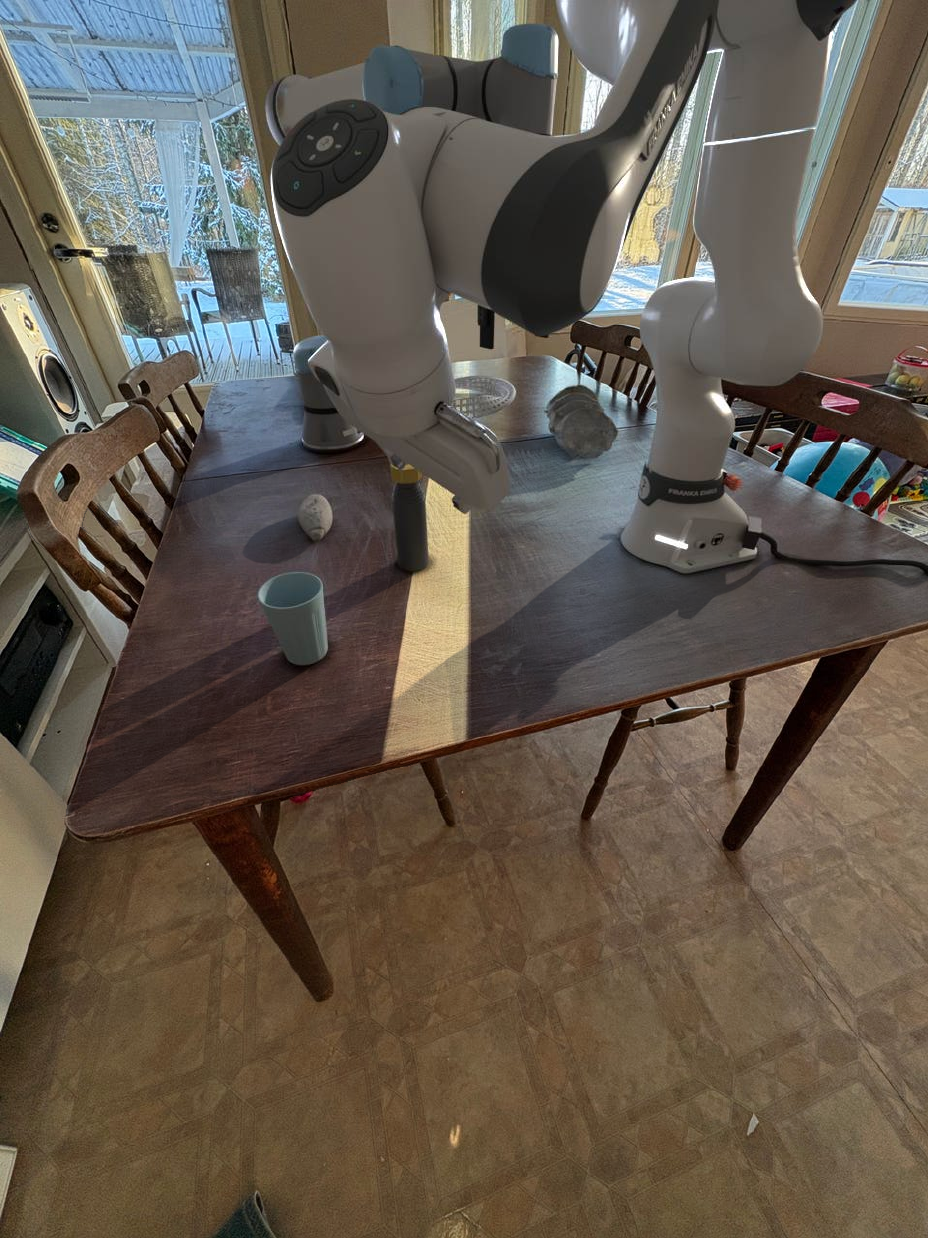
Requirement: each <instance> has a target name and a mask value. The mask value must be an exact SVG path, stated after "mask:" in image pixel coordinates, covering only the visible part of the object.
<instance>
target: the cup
mask: <svg viewBox="0 0 928 1238" xmlns="http://www.w3.org/2000/svg"><path fill="white" fill-rule="evenodd" d="M257 600H258V602H259V604H260V606H261V608H262V610H263V613H264V615H265V616H266V619H267V621H268V622H269V624H270V626H271V629H272V631H273V633H274V635H275V636H276V640H277V641H278V643H279V645H280V648H281V649H282V651H283V653H284V655H285V658H286V659H287V661H288V662H289V663H292V664H294V665H297V666H309V665H312V664H316V663H318V662H320V661H321V660H322V659H323V658H324V657H325V656H326V655H327V652H328V649H329V645H328V644H329V643H328V635H327V634H328V631H327V622H326V620H327V619H326V610H325V599H324V585H323V582H322V580H321V579H320V578H319V577H318V576H316V575H315V574H312V573H309V572H305V571H304V572H303V571H293V572H291V571H290V572H286V573H282V574H279V575H276V576H274V577H271V578H270V579H268V580H266V582H264V583H263V584H262V585H261V586H260V588H259V590H258V591H257Z"/></svg>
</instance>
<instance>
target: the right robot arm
mask: <svg viewBox="0 0 928 1238" xmlns="http://www.w3.org/2000/svg"><path fill="white" fill-rule="evenodd" d="M857 1H858V0H555V4H556V9H557V15H558V19H559V21H560V26H561V29H562V31H563V34H564V37H565V39H566V41H567V44H568V46H569V47H570V50H571V51H572V54H573V55H574V56H575V58H576V60H577V61H578V62H579V63H580V65H581V66H582V67H583V68H584V69H585V70H586V71H587V72H588V73H589V74H591V76H593V77H595V78H597V79H599V80H600V81H602V82H604V83H605V84H608V85H609V86H611V88H610V90H609V93H608V95H607V96H606V99H605V100H604V102H603V104H602V106H601V108H600V110H599V113H598V114H597V117H596V118H595V120H594V123H593V125H592V127H591V128H589V129H587V130H585V131H582V132H579V133H575V134H568V135H552V136H544V135H539V134H535V133H531V132H527V131H523V130H519V129H515V128H512V127H508V126H504V125H500V124H496V123H492V122H489V121H485V120H484V119H481V118H477V117H474V116H470V115H466V114H463V113H459V112H455V111H451V110H446V109H442V108H436V107H414V108H410V109H408V110H406V111H404V112H403V113H401V114H400V115H396V114H391V113H388V112H385V111H382V110H381V109H380V108H379V107H377V106H376V105H374V104H372V103H370V102H367V101H364V100H358V99H346V100H340V101H335V102H332V103H329V104H327V105H324V106H322V107H320V108H318V109H316V110H315V111H313V112H311V113H309V114H308V115H306V116H305V117H303V118H302V119H301V120H300V121H299V122H298V123H297V124H296V125H295V126H294V127H293V128H292V129H291V130H290V131H289V133H288V134H287V136H286V137H285V138H284V140H283V141H282V143H281V144H280V146H279V145H278V148H277V150H276V152H275V155H274V157H273V161H272V164H271V173H270V187H271V188H270V189H271V198H272V204H273V210H274V211H273V212H274V215H275V220H276V224H277V225H276V226H277V228H278V232H279V236H280V238H281V241H282V245H283V248H284V251H285V254H286V257H287V259H288V262H289V264H290V267H291V270H292V273H293V275H294V278H295V280H296V284H297V285H298V287H299V290H300V293H301V294H302V297H303V300H304V302H305V304H306V306H307V309H308V311H309V313H310V316H311V317H312V320H313V322H314V323H315V325H316V327H317V329H319V330H320V333H322V335H325V337H326V338H327V339H328V341H327V342H326V343H325V344H323V345H322V346H321V347H320V348H319V349H318V350H317V351H316V352H315V353H314V354H313V356H312V357H311V358H310V359H309V360H308V364H309V367H310V369H311V371H312V373H313V374H314V376H315V378H316V379H317V380H318V381H320V382H321V383H322V384H323V386H324V388H325V390H326V392H327V394H328V396H329V397H330V399H331V401H332V403H333V404H334V406H335V408H336V409H337V411H338V412H339V414H340V415H341V416H342V417H343V418H344V419H345V420H346V421H347V422H348V423H349V424H350V425H352V426H353V427H355V428H356V429H358V430H359V431H361V432H362V433H364V436H366V437H367V438H369V439H371V440H372V441H374V442H375V443H376V445H378V447H379V448H380V449H381V450H382V451H383V453H384V454H385V455H386V457H387V459H388V461H389V464H392V465H393V466H395V467H396V468H398V469H399V470H402V469H403V468H404V467H405V465H407V464H409V465H411V466H412V467H414V468H415V469H417V470H418V471H420V472H421V473H422V475H424V476H426V477H427V478H429V479H430V480H432V481H433V482H435V483H436V484H438V485H439V486H440V487H442V488H443V489H445V490H446V491H448V492H449V493H451V494H452V495H454V496H452V498H451V502H452V506H453V508H455V509H456V510H458V511H459V512H461V513H462V514H463V515H467V514H468V513H469V512H470V511H471V510H472V509H474V510H475V511H477V512H479V513H481V514H486V513H489V512H491V511H492V510H494V509H495V508H496V507H498V505H500V503H502V501H503V500H504V499H505V498H506V496H507V495H508V494H509V492H510V491H511V488H512V482H511V476H510V472H509V466H508V463H507V459H506V456H505V452H504V449H503V446H502V444H501V442H500V440H499V438H498V437H497V436H496V434H495V433H494V432H493V431H492V430H491V429H489V427H487V426H485V425H484V424H482V423H481V422H479V421H478V420H476V419H475V418H474V419H472V418H471V417H472V416H470V415H469V416H467V415H466V414H464V413H462V412H461V411H460V409H457V408H454V407H452V406H451V405H452V404H453V401H454V398H456V390H457V388H455V381H454V379H455V376H454V371H453V366H452V360H451V354H450V349H449V344H448V339H447V335H446V330H445V327H444V324H443V322H442V320H441V316H440V311H441V306H442V305H443V303H444V302H445V301H446V300H447V299H448V298H449V297H450V296H451V295H453V296H457V297H459V298H461V299H464V300H466V301H469V302H471V303H474V304H475V305H477V306H478V305H481V306H483V307H486V308H488V309H491V310H493V311H494V312H495V314H496V315H498V316H500V317H501V318H503V319H505V320H507V321H509V322H510V323H512V324H514V325H516V326H518V327H520V328H521V329H523V330H525V331H527V332H528V333H530V334H532V335H534V336H535V335H537V336H545V335H549V336H550V334H551V335H552V334H553V333H554V334H555V333H556V332H559V331H561V330H564V329H565V328H567V327H570V326H571V325H573V324H575V323H577V322H578V321H580V320H581V319H584V317H586V316H587V315H589V314H591V312H593V311H594V310H595V308H596V307H597V306H598V305H599V303H600V301H601V300H602V298H603V297H604V295H605V293H606V291H607V289H608V286H609V284H610V282H611V280H612V277H613V275H614V272H615V271H616V270H615V269H616V268H617V265H618V262H619V259H620V257H621V255H622V251H623V250H624V249H623V248H624V245H625V243H626V240H627V237H628V235H629V231H630V229H631V226H632V224H633V220H634V218H635V216H636V213H637V211H638V209H639V207H640V205H641V203H642V200H643V198H644V197H645V194H646V192H647V189H648V188H649V185H650V183H651V181H652V180H653V177H654V175H655V173H656V171H657V169H658V167H659V165H660V162H661V160H662V158H663V156H664V154H665V151H666V150H667V147H668V146H669V143H670V141H671V139H672V137H673V135H674V133H675V131H676V128H677V126H678V124H679V122H680V120H681V118H682V116H683V113H684V111H685V108H686V107H687V104H688V102H689V100H690V98H691V95H692V93H693V91H694V88H695V86H696V83H697V82H698V79H699V76H700V74H701V71H702V70H703V66H704V64H705V60H706V58H707V54H710V53H716V52H722V53H721V56H720V61H719V63H718V68H717V72H716V76H715V80H714V83H713V84H714V85H713V88H712V94H711V99H710V103H709V109H708V113H707V120H706V125H705V132H704V136H703V137H704V138H703V144H702V152H701V160H700V167H699V174H698V179H697V180H698V181H697V189H696V194H695V203H694V210H693V218H692V223H693V224H692V225H693V231H694V234H695V236H696V238H697V240H698V241H699V243H700V244H701V245H702V246H703V247H704V249H705V250H706V252H707V254H708V256H709V259H710V263H711V266H712V271H713V278H711V277H703V276H694V277H693V276H692V277H688V278H681V279H675V280H671V281H668V282H665V283H663V284H661V285H660V286H659V287H658V288H656V289H655V291H654V292H653V293H652V294H651V295H650V297H649V298H648V300H647V302H646V304H645V306H644V308H643V310H642V314H641V317H640V323H639V336H640V341H641V343H642V345H643V347H644V349H645V350H646V352H647V354H648V356H649V360H650V362H651V365H652V368H653V369H652V370H653V375H654V381H655V389H656V406H657V407H656V419H655V425H654V430H653V436H652V441H651V445H650V452H649V455H648V458H647V460H646V461H645V462H644V465H643V468H642V472H641V476H640V481H639V485H638V491H637V500H636V502H635V505H634V508H633V511H632V513H631V515H630V517H629V520H628V522H627V523H626V526H625V528H624V530H623V531H622V533H621V535H620V542H621V544H622V546H623V547H624V548H625V550H626V551H628V552H629V553H630V554H632V555H633V556H635V557H636V558H638V559H641V560H644V561H646V562H649V563H653V564H656V565H661V566H664V567H667V568H669V569H671V570H672V571H673V570H674V571H676V572H679V573H681V574H691V573H692V574H693V573H696V572H700V571H706V570H710V569H715V568H719V567H723V566H727V565H732V564H737V563H742V562H745V561H751V560H754V559H755V558H756V557H757V552H758V550H757V545H758V542H759V539H760V540H763V541H765V542H767V543H768V544H769V545H770V547H769V548H770V553H771V555H772V556H774V557H776V558H777V559H780V560H783V561H790V562H794V563H799V564H803V565H810V566H825V567H826V566H828V567H829V566H830V567H860V566H870V565H871V566H872V565H873V566H874V565H884V566H902V567H903V566H904V567H905V566H906V567H914V568H917V569H920V570H922V571H923V573H924V574H925V575H928V564H926V563H925V562H922V561H919V560H914V559H912V560H911V559H895V558H893V559H890V558H864V559H863V558H861V559H851V560H840V559H839V560H834V559H819V558H818V559H817V558H801V557H795V556H790V555H787V554H784V553H782V552H780V550H778V542H777V540H776V539H775V538H774V537H772V536H771V535H770V534H767V533H765V532H763V531H762V517H756V516H750V515H749V516H747V514H746V513H745V511H744V510H743V509H742V508H741V507H740V506H739V505H738V503H736V501H734V500H733V498H732V497H731V496H729V494H727V493H726V491H725V487H726V488H728V489H729V491H731V492H735V491H738V490H739V489H740V488H741V486H742V485H743V484H742V483H743V481H742V479H741V478H739V477H737V475H735V474H728V472H727V471H726V470H725V469H724V468H723V466H724V463H725V460H726V458H727V455H728V451H729V448H730V445H731V442H732V439H733V435H734V432H735V430H736V419H735V415H734V412H733V411H732V409H731V407H730V406H729V404H728V403H727V401H726V399H725V395H724V393H723V387H722V380H724V381H726V382H730V383H733V384H736V385H741V386H755V387H777V386H780V385H783V384H785V383H787V382H788V381H790V380H791V379H793V378H794V377H796V376H797V375H798V374H799V373H800V372H801V371H803V369H805V367H806V366H807V365H808V363H809V362H810V361H811V360H812V358H813V357H814V355H815V353H816V352H817V350H818V347H819V345H820V342H821V339H822V335H823V329H824V316H823V312H822V308H821V305H820V304H819V303H818V301H816V299H815V298H814V297H813V295H812V294H811V292H810V290H809V288H808V286H807V285H806V284H807V283H806V281H805V279H804V276H803V273H802V269H801V264H800V259H799V252H798V237H797V232H798V229H797V228H798V215H799V208H800V202H801V197H802V192H803V188H804V182H805V178H806V173H807V168H808V167H807V166H808V163H809V159H810V155H811V151H812V145H813V141H814V137H815V133H816V129H817V125H818V121H819V116H820V112H821V108H822V103H823V99H824V94H825V88H826V82H827V77H828V70H829V64H830V56H831V47H832V38H833V31H834V29H835V28H836V27H837V25H838V23H839V22H840V20H841V18H842V16H843V14H844V13H846V12H847V11H848V10H849V9H851V8H852V7H853V6H854V5H855V4H856V2H857ZM537 336H536V337H537Z"/></svg>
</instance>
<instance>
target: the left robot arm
mask: <svg viewBox="0 0 928 1238" xmlns="http://www.w3.org/2000/svg"><path fill="white" fill-rule="evenodd" d="M501 40H502V41H501V49H500V56H498V57H494V58H490V59H485V60H472V59H471V60H470V59H465V58H459V57H453V56H447V55H440V54H434V53H428V52H424V51H418V50H414V49H409V48H405V47H403V46H402V45H387V46H386V45H377V46H375V47H373V48H372V49H371V50H370V51H369V54H368V57H367V58H366V59H365V61H364V62H361V63H357V64H355V65H352V66H348V67H344V68H341V69H339V70H335V71H332V72H328V73H325V74H322V75H318V76H315V77H309V76H304V75H301V74H290V75H287V76H282V77H281V78H278V79H277V80H275V82H273V83H272V84H271V86H270V88H269V90H268V92H267V95H266V100H265V117H266V122H267V125H268V128H269V131H270V133H271V134H272V137H273V139H274V140H275V142H276V143H277V145H278V147H279V146H280V144H281V143H282V141H283V140H284V138H285V137H286V136H287V134H288V133H289V131H290V130H291V129H292V128H293V127H294V126H295V125H296V124H297V123H298V122H299V121H300V120H301V119H302V118H303V117H305V116H306V115H308V114H309V113H311V112H313V111H315V110H316V109H318V108H320V107H322V106H324V105H327V104H329V103H332V102H335V101H340V100H346V99H358V100H364V101H367V102H370V103H372V104H374V105H376V106H377V107H379V108H380V109H381V110H382V111H385V112H388V113H391V114H396V115H400V114H401V113H403V112H404V111H406V110H408V109H410V108H414V107H436V108H442V109H446V110H451V111H455V112H459V113H463V114H466V115H470V116H474V117H477V118H481V119H484V120H485V121H489V122H492V123H496V124H500V125H504V126H508V127H512V128H515V129H519V130H523V131H527V132H531V133H535V134H539V135H544V136H553V126H554V125H553V124H554V113H555V103H556V93H557V83H558V77H559V72H558V69H559V68H558V65H559V63H558V62H559V36H558V33H557V31H556V29H555V28H553V27H552V26H550V25H547V24H544V23H521V24H515V25H513V26H510V27H508V28H507V29H506V30H505V31H504V33H503V35H502V39H501ZM495 314H496V313H495V312H494V311H493V310H491V309H488V308H486V307H483V306H481V305H478V304H477V321H476V322H477V326H479V348H483V349H487V350H494V349H495V348H494V347H495V321H496V320H495V319H496V318H495V317H496V315H495ZM549 336H550V334H549V335H545V336H537V335H534V337H538V338H544V339H548V338H549ZM327 341H328V339H327V338H326V337H325V335H324V334H320V335H314V336H310V337H307V338H305V339H302V340H301V341H299V342H297V344H296V345H295V346H294V348H293V351H292V353H293V361H294V370H295V371H294V372H293V375H294V376H295V377H296V379H297V383H298V388H299V392H300V397H301V402H302V408H303V421H302V430H301V441H302V445H303V448H305V449H306V450H307V451H311V452H313V453H320V454H335V453H342V452H347V451H351V450H354V449H356V448H358V447H360V446H361V445H363V443H364V442H365V434H364V433H362V432H361V431H359V430H358V429H356V428H355V427H353V426H352V425H350V424H349V423H348V422H347V421H346V420H345V419H344V418H343V417H342V416H341V415H340V414H339V412H338V411H337V409H336V408H335V406H334V404H333V403H332V401H331V399H330V397H329V396H328V394H327V392H326V390H325V388H324V386H323V384H322V383H321V382H320V381H318V380H317V379H316V378H315V376H314V374H313V373H312V371H311V369H310V367H309V364H308V360H309V359H310V358H311V357H312V356H313V354H314V353H315V352H316V351H317V350H318V349H319V348H320V347H321V346H322V345H323V344H325V343H326V342H327Z"/></svg>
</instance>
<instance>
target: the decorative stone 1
mask: <svg viewBox="0 0 928 1238" xmlns="http://www.w3.org/2000/svg"><path fill="white" fill-rule="evenodd" d="M297 516H298V518H297V519H298V523H299V524H300V527H301V528H302V530H303V531H304V532H305V534H306V535H307V536H308V537H309V538H310V539H311V540H312V541H313V542H319V541H320V540H322V539H323V537H324V536H325V535H326V534H327V533H328V532H329V531H330V529H331V527H332V525H333V524H332V523H333V510H332V507H331V505H330V503H329V502H328V499H327V498H325V496H323V495H321V494H318V493H317V494H315V493H314V494H310V495H308V496H307V497H306V498H304V499H303V501H302V502H301V503H300V506H299V508H298V513H297Z"/></svg>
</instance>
